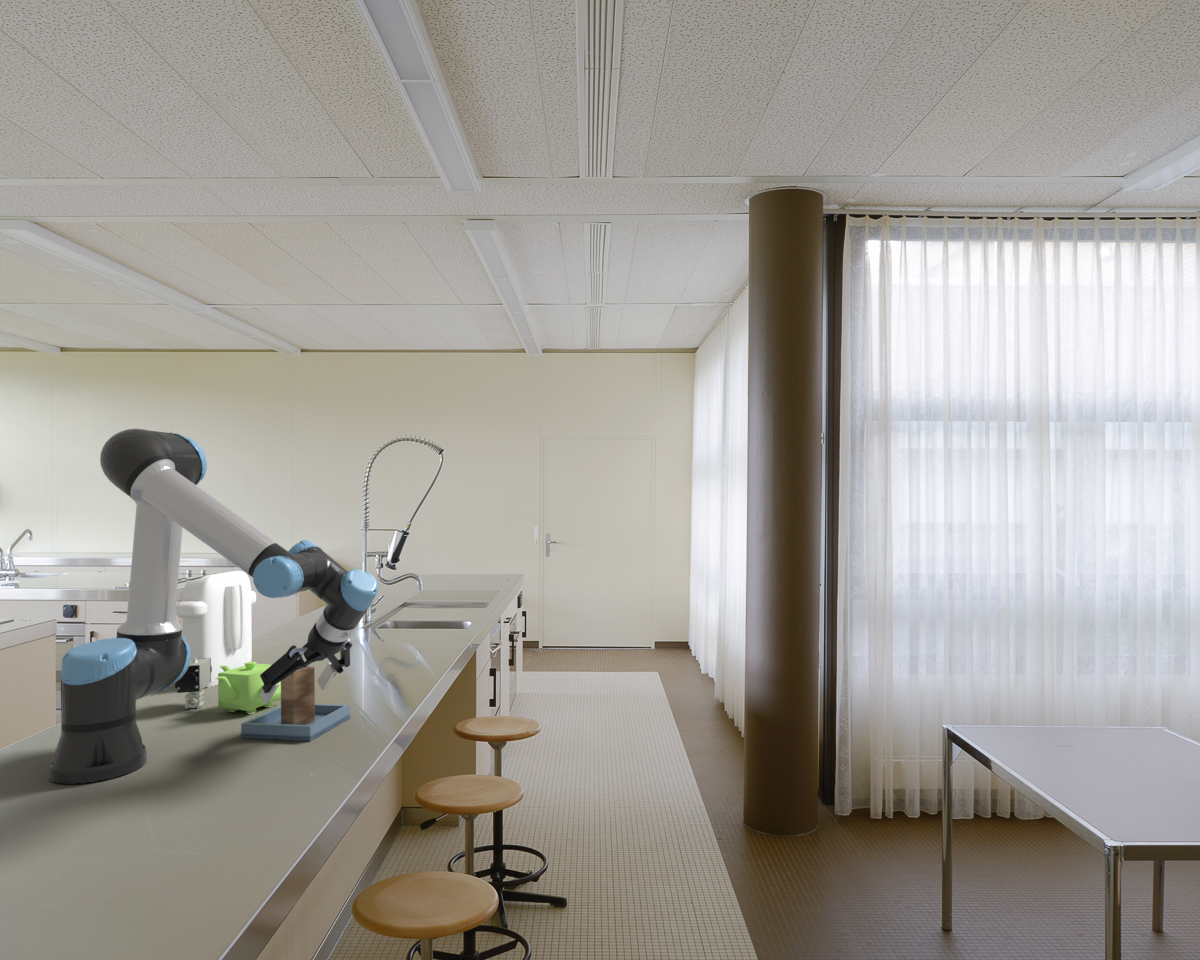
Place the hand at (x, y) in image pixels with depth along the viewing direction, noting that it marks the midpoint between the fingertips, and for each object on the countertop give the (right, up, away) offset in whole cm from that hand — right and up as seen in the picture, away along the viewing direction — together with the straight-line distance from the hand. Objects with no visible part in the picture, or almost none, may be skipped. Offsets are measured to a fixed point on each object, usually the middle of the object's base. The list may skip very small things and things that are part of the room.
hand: (293, 691), depth 163 cm
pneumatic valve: (-32, -9, +17) cm, 37 cm away
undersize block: (+2, -7, -1) cm, 7 cm away
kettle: (-17, -9, +14) cm, 24 cm away
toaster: (-38, -10, +45) cm, 60 cm away
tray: (+2, -8, -1) cm, 8 cm away
